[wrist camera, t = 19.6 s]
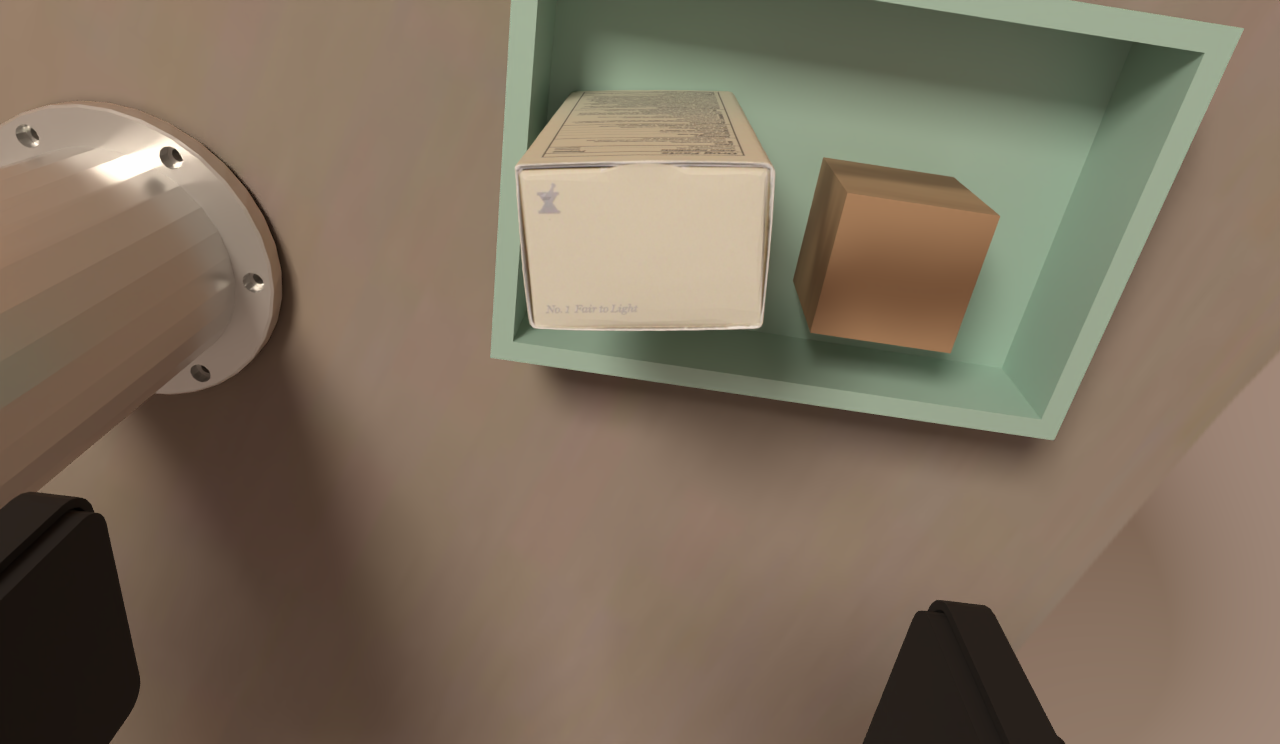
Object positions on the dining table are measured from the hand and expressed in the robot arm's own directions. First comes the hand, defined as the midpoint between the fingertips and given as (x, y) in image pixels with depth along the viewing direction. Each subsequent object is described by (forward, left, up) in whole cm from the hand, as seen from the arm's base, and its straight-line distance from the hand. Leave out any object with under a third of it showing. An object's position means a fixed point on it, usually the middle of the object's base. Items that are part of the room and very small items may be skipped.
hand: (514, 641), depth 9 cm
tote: (+7, 0, -25) cm, 25 cm away
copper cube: (+10, -1, -24) cm, 26 cm away
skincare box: (+1, +1, -24) cm, 24 cm away
